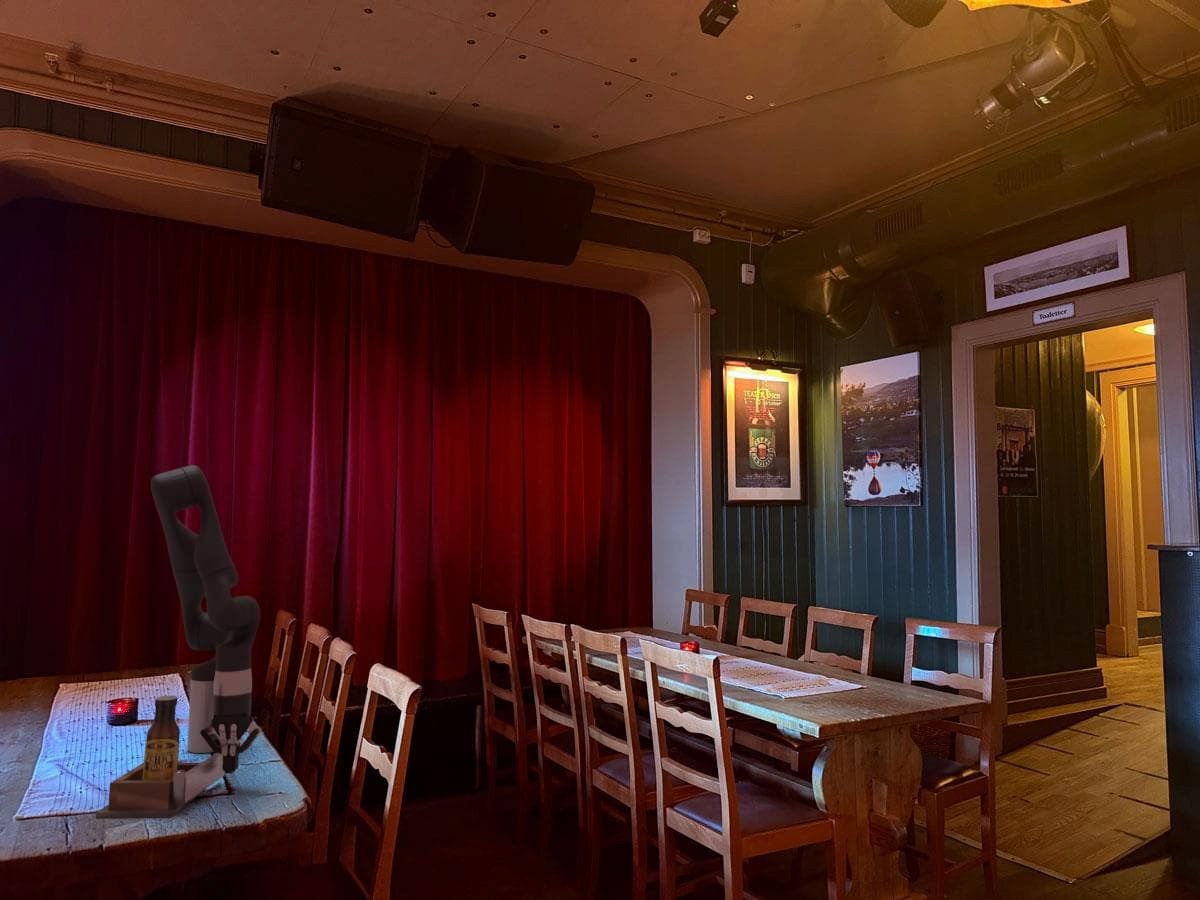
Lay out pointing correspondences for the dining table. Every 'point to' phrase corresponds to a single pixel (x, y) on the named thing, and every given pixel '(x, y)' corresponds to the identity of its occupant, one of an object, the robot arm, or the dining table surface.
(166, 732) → the sauce bottle
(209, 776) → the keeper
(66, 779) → the dining table surface
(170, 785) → the cradle
